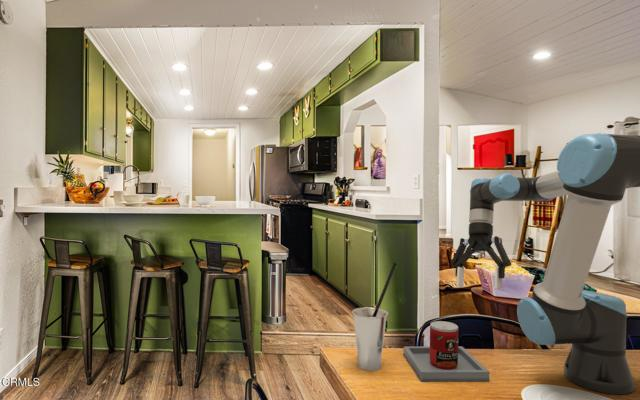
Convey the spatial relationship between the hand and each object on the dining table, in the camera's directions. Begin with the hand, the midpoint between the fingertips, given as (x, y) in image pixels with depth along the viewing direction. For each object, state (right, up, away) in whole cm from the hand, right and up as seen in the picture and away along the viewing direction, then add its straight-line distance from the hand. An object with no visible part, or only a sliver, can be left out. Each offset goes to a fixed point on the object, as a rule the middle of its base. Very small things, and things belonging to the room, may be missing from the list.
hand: (478, 288), depth 128 cm
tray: (-16, -19, -16) cm, 29 cm away
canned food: (-16, -18, -16) cm, 29 cm away
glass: (-36, -19, -16) cm, 44 cm away
